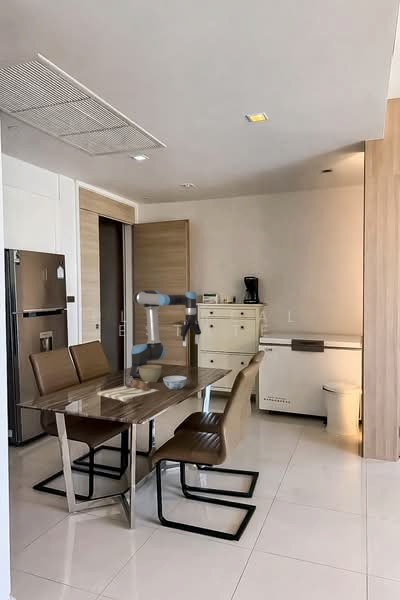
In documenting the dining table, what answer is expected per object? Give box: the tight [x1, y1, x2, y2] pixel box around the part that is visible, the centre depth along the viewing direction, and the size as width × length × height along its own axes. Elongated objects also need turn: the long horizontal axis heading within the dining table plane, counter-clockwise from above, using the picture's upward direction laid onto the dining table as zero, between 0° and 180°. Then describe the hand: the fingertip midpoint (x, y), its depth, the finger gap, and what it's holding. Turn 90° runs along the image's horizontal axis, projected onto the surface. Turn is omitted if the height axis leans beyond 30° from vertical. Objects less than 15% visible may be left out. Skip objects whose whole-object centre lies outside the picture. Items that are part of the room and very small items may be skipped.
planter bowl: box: [138, 364, 163, 383], centre depth 287 cm, size 16×16×11 cm
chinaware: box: [162, 375, 188, 390], centre depth 262 cm, size 15×15×8 cm
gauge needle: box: [125, 376, 150, 390], centre depth 261 cm, size 19×5×6 cm, turn 51°
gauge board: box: [96, 385, 160, 402], centre depth 254 cm, size 27×27×2 cm
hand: (191, 345), depth 283 cm, fingers open, 13 cm apart
